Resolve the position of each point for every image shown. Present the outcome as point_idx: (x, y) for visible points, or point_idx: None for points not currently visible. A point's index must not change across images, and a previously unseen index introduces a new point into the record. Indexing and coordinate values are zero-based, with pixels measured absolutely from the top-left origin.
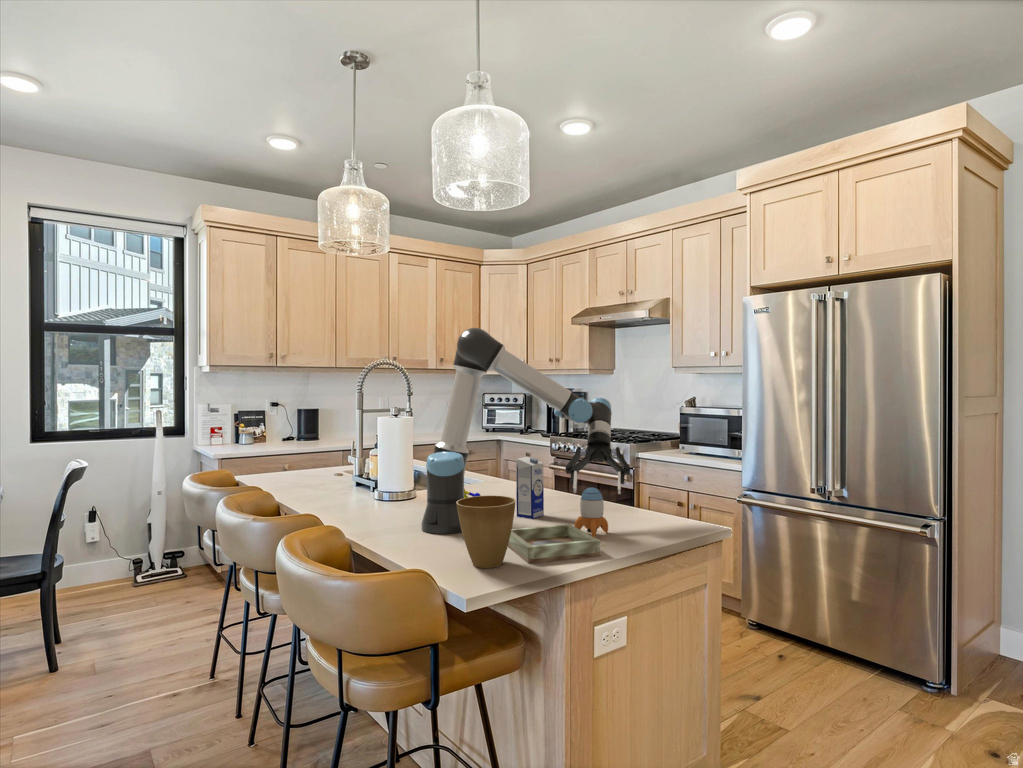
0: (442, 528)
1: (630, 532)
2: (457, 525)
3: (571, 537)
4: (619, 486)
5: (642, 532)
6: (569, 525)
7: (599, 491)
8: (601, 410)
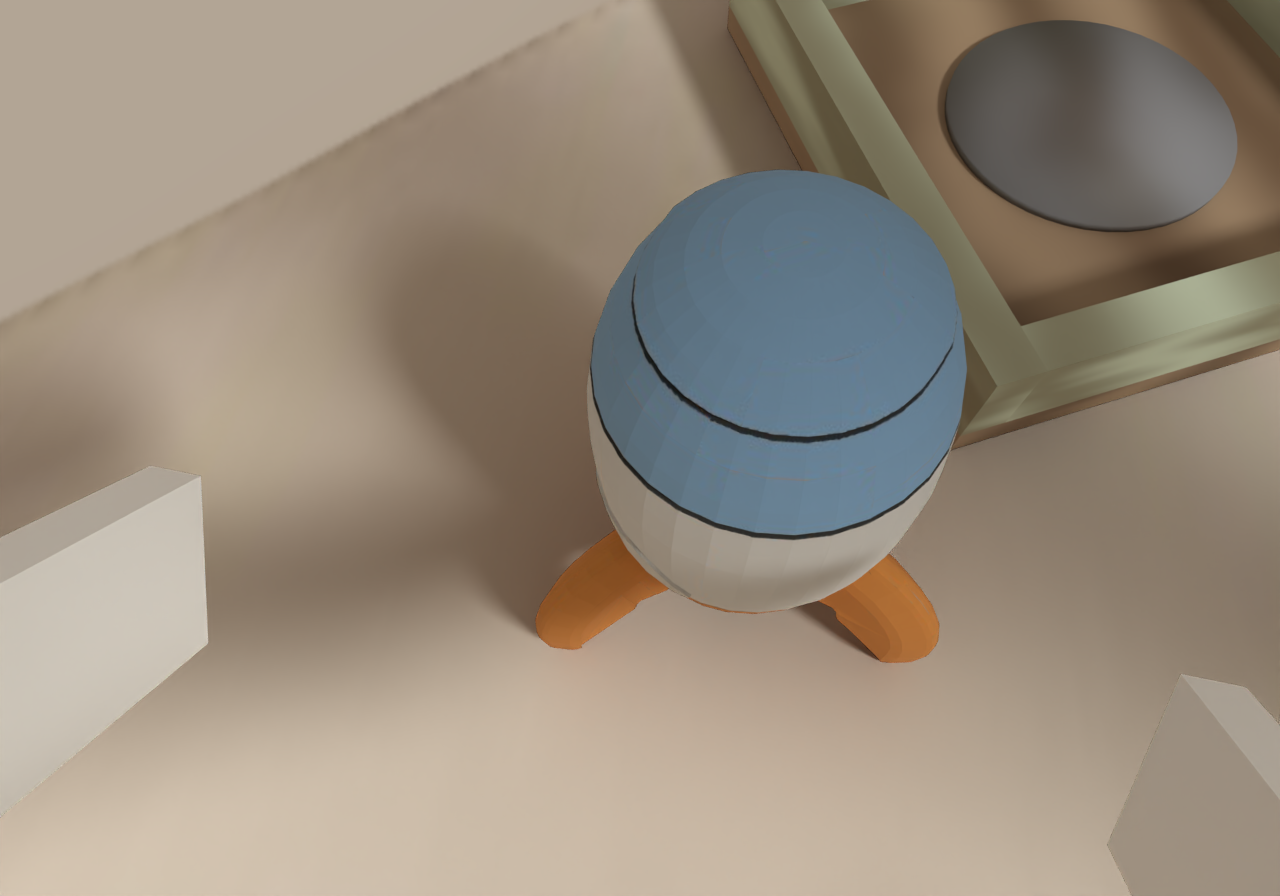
0: None
1: (307, 643)
2: None
3: None
4: (116, 495)
5: None
6: (996, 333)
7: (646, 260)
8: None
